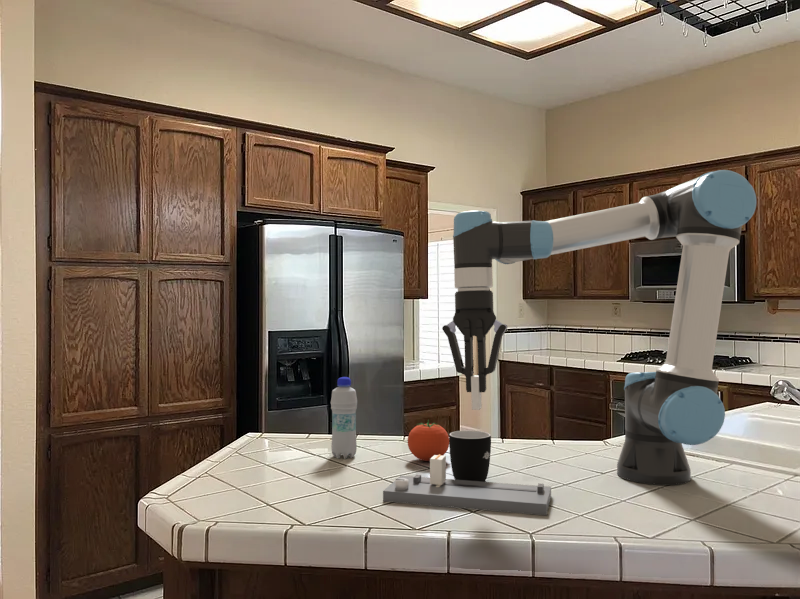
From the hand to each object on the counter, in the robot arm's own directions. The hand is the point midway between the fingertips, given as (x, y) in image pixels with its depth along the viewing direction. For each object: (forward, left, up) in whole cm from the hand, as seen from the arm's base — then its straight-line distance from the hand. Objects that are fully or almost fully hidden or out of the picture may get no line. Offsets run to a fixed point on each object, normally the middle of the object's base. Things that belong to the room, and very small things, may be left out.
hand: (476, 408), depth 132 cm
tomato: (+17, -27, -18) cm, 36 cm away
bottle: (+38, -25, -18) cm, 49 cm away
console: (+1, +2, -17) cm, 18 cm away
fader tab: (+8, 0, -15) cm, 17 cm away
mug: (+4, -12, -18) cm, 22 cm away
